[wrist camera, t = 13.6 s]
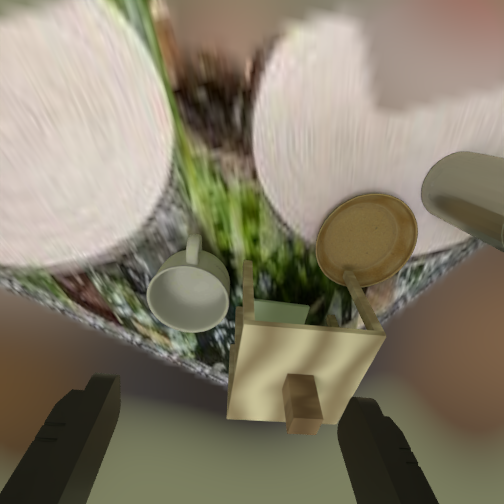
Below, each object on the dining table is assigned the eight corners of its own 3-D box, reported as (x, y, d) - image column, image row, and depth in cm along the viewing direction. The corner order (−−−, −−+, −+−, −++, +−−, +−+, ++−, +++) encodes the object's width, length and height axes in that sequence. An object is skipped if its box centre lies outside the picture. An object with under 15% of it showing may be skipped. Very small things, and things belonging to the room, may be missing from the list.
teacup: (219, 307, 49) (216, 342, 42) (153, 291, 47) (138, 323, 40) (246, 234, 43) (248, 258, 36) (173, 211, 41) (160, 232, 34)
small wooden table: (352, 271, 44) (409, 379, 29) (318, 355, 54) (347, 467, 39) (243, 259, 42) (244, 368, 27) (229, 348, 53) (224, 462, 38)
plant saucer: (358, 167, 40) (366, 171, 38) (428, 224, 44) (439, 231, 42) (292, 249, 45) (294, 256, 43) (360, 293, 49) (366, 302, 47)
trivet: (308, 305, 49) (309, 307, 49) (294, 350, 54) (295, 352, 53) (250, 298, 48) (250, 300, 48) (240, 344, 52) (240, 346, 52)
